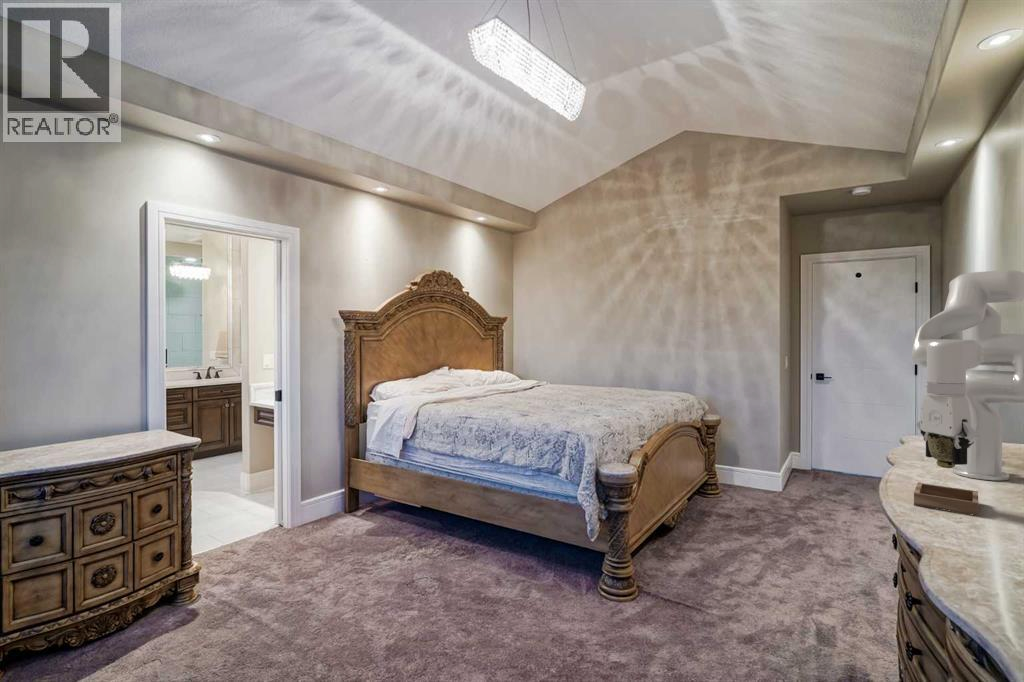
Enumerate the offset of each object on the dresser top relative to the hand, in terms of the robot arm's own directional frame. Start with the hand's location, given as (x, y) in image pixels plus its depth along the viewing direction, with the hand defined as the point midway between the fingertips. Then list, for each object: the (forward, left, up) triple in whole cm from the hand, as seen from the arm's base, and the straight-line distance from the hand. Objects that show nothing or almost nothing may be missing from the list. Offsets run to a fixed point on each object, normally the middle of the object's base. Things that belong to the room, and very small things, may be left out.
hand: (945, 459), depth 129 cm
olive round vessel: (0, 0, -2) cm, 2 cm away
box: (0, 0, -11) cm, 11 cm away
